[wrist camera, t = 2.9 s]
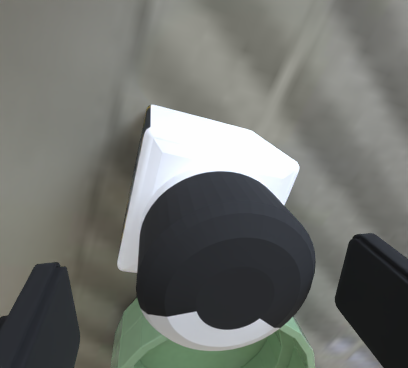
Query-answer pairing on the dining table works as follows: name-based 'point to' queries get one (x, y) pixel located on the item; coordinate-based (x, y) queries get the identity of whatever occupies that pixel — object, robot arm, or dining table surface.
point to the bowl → (205, 360)
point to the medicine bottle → (213, 233)
